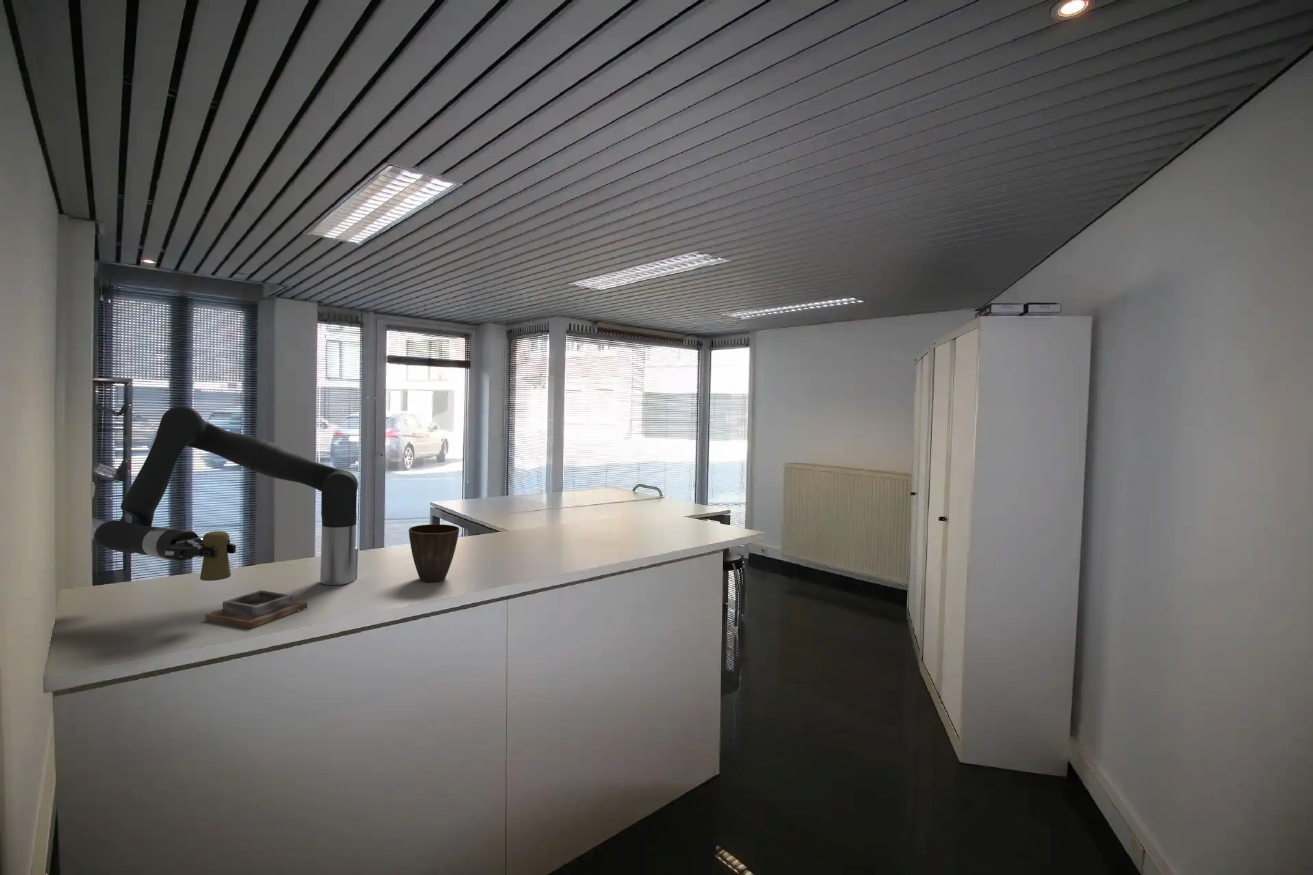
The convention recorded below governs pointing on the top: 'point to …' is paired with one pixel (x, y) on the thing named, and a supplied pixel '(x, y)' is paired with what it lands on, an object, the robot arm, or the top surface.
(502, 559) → the top surface
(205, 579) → the cork
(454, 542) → the plant pot
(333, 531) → the robot arm
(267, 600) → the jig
